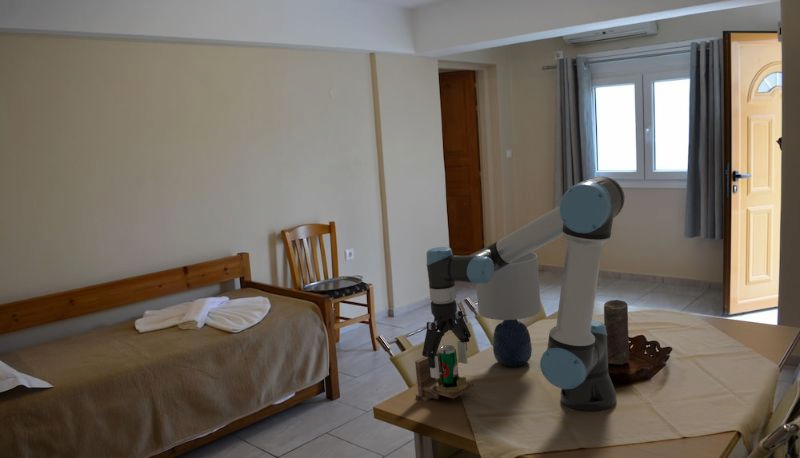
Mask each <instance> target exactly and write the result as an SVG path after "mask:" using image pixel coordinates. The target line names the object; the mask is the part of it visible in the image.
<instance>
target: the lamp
mask: <svg viewBox="0 0 800 458" xmlns="http://www.w3.org/2000/svg"><path fill="white" fill-rule="evenodd" d="M475 285H476V287H475V288H476V296H477V297H476V298H477V309H478V310H477V311H478V315H479V316H480V317H482V318H485V319H488V320H489V319H490V320H495V321H496V320H498V321H502V322H499V323H498V324H497V325H496V326H495V328H494V331H493V334H492V335H493V337H492V339H493V340H492V348H493V349H492V350H493V354H494V358H495V360H496V361H497V362H498V363H499V364H501V365H502V366H506V367H510V368H511V367H512V368H513V367H514V368H515V367H520V366H523V365H525V364H527V362H529V361H530V359H531V357H532V351H533V349H532V348H533V347H532V341H531V340H532V339H531V335H530V332H529V331H530V330H529V329H528V328H527V326H526V325H525V323H523V322H521V321H518V320H520V319H526V318H530V317H533V316H536V315H537V314H539V313H541V310H542V305H541V304H542V303H541V294H540V293H541V291H540V278H539V262H538V255H537V253H535V252H533V251H532V252H530V253H529V254H527V255H525V256H523V257H521V258H519V259H517V260H515V261H513V262H511V263H510V264H508V265H506V266H504V267H503V268H501V269H499V270H497V271H495V272H494V275H493V277H492V278H491V281H490V282H488V283H479V284H476V283H475Z"/></svg>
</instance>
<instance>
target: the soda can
mask: <svg viewBox="0 0 800 458" xmlns="http://www.w3.org/2000/svg"><path fill="white" fill-rule="evenodd" d="M439 350H440V351H439V357H440V366H441V375H442V384H443V386H444V387H446V388H449V387H457V380H459V377H460V376H459V375H460V374H459V364H458V356H457V350H456V349H455V346H454V345H452V344H451V345H450V344H446V345H442V346H439Z"/></svg>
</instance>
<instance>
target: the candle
mask: <svg viewBox="0 0 800 458" xmlns="http://www.w3.org/2000/svg"><path fill="white" fill-rule="evenodd" d="M628 306H629V305H628V303H627V301H625V300H620V299H613V300H607V301H606V302H605V303H604V304H603V318H604V319H603V321H604V322H603V324H604V325H605V326H606V333H607V353H608V365H609V364H611V365H615V366H622V365H625V364H626V363H627V362H629V361H630V346H629V345H630V342H629V341H630V340H629V339H630V338H629V313H628V309H629V307H628Z"/></svg>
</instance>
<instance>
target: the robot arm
mask: <svg viewBox="0 0 800 458" xmlns="http://www.w3.org/2000/svg"><path fill="white" fill-rule="evenodd" d="M624 205H625V192H624V190H623V187H622V186H621V184H620V183H619V182H618V181H616V180H615V179H613V178H611V177H609V176H602V175H600V176H594V177H592V178H590V179H587V180H582V181H580V182H577V183H575V184H574V185H572V186H571V187H570V188H569V189H568V190H567V191H566V192H564V194H563V195H562V197H561V200H560V202H559V206H556V207H555V208H553V209H552V210H550V211H548V212H547V213H545V214H543V215H541V216H540V217H537V218H535V219H534V220H531V221H530V222H528V223H526V224H525V225H523V226H521V227H519V228H518V229H516V230H515V231H513V232H511V233H509V234H506V236H504V237H502V238H500V239H499V240H497V241H495V242H493V243H491V244H489V245H487V246H486V247H483V248H482V249H480V250H478V251H475V252H473V253H471V254H469V255H456V254H455V255H454V254H453V250H452V248H451V247H448V246H439V247H432V248H429V249H428V250H427V252H426V268H427V277H428V287H429V297H430V301H431V302H430V311H431V315H433V318H434V319H433V321H427V322H426V332H425V337H424V343H423V347H422V348H423V349H422V353H421V356H422V357H428V362H429V368H430V372H431V377H433V378H437V379H439V378H440V376H439V365H438V356H436V353H437V351H438V350H439V348H440V344H441V342H442V339H443V337H444V336H445V334H446V333H448V332H449V331H451V332H452V333H453V335H454V336H455V337H456V338H457V339H458V341H457V342H456V343H457V353H458V356H457V357H458V363H461V364H469V363H468V354H467V352H468V344H467V343H470V338H471V337H472V335H471V332H470V330H469V327H468V325H467V323H466V321H465V318H464V313H463V311H462V310H458V306H457V300H456V298H457V293H456V284H455V283H467V284H468V283H470V284H475V285H476V284H479V283H488V282H490V281H491V278H492V277H493V275H494V272H495V271H497V270H499V269H501V268H503V267H504V266H506V265H508V264H510V263H511V262H513V261H515V260H517V259H519V258H521V257H523V256H525V255H527V254H529V253H530V252H532V253H533V252H535V251H536V250H538V249H540V248H541V247H544V246H546V245H547V244H549V243H552V242H553V241H555V240H557V239H559V238H561V237H562V236H565V237H566V247H565V257H564V264H563V272H562V279H561V286H560V287H561V288H560V295H559V304H558V310H557V318H556V325H555V326H553V327H552V328H551V329H550V330H549V332H548V333H549V334H548V343H547V348H546V350H545V351H544V352H543V353H542V354H541V355H542V356H541V358H540V360H539V363H540V364H539V367H540V371H541V373H542V375H543V376H544V377H545V378H546V379H545V380H547V381H548V382H549V383H550V384H552V386H554V387H555V388H559V389H561V390H560V400H561V403H562V404H564V405H565V406H566V407H568V408H570V409H575V410H577V411H584V412H594V411H595V412H597V411H603V410H606V409H609V408H611V407H613V406H615V405H616V403H617V392H616V389H615V386H614V384H613V381H612V378H611V376H610V374H609V364H608V353H607V333H606V326H605V325H604V322H602V321H599V320H595V319H594V320H593V315H594V314H593V313H594V308H595V301H596V294H597V286H598V281H599V280H598V279H599V274H600V267H601V259H602V258H601V257H602V253H603V252H602V251H603V247H604V246H603V245H604V244H605V243H606V242H608V240H610V239H611V235H612V234H611V233H612V227H613V221H614V218H616V217H617V216H618V215H619V214H620V213H621V212H622V210H623V208H624Z"/></svg>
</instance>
